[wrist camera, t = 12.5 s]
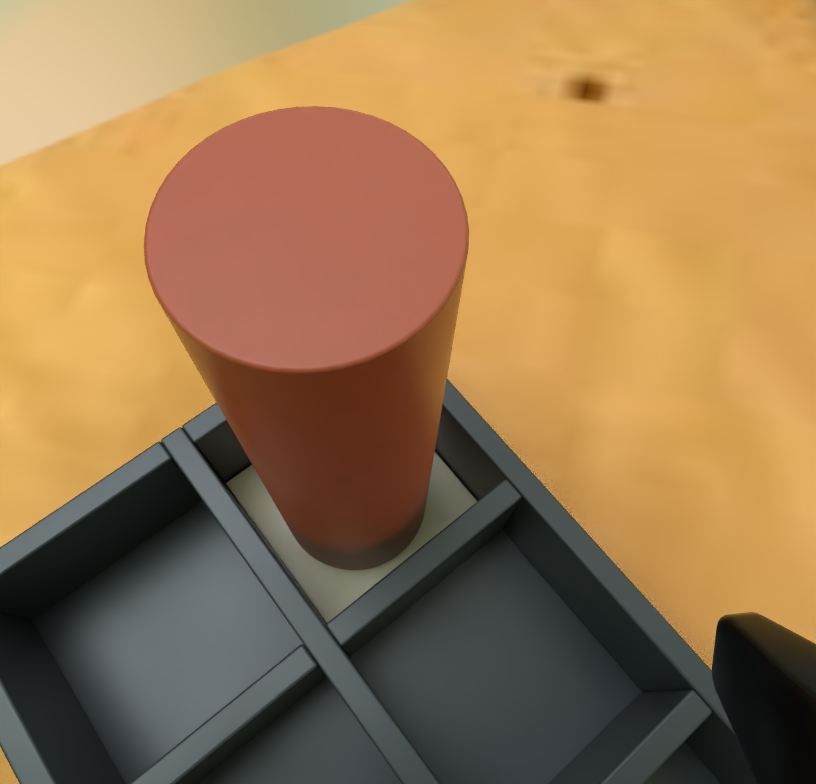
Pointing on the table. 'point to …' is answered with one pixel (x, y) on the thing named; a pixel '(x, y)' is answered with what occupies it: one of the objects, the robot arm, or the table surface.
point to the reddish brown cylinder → (319, 312)
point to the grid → (340, 638)
